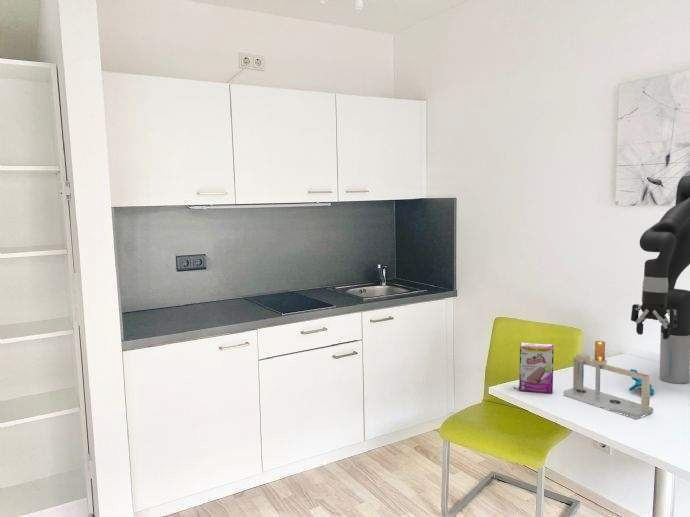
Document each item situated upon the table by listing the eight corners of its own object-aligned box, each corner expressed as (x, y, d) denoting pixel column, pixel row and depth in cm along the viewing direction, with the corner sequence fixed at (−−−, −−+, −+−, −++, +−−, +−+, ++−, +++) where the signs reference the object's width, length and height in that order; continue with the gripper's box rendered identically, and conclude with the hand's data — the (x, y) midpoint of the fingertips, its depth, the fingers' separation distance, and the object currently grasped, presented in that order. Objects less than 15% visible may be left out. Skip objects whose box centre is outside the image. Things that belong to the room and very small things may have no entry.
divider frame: (579, 389, 183) (580, 351, 181) (652, 412, 162) (654, 369, 160) (563, 395, 178) (564, 355, 177) (636, 419, 157) (637, 374, 156)
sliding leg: (597, 392, 175) (598, 340, 173) (606, 394, 172) (607, 342, 170) (591, 394, 173) (592, 341, 171) (600, 396, 171) (601, 343, 169)
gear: (651, 395, 172) (628, 369, 177) (636, 404, 175) (614, 379, 179) (660, 390, 179) (638, 366, 184) (645, 399, 182) (625, 375, 187)
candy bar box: (519, 391, 183) (519, 345, 181) (519, 386, 188) (519, 342, 186) (553, 394, 179) (553, 347, 178) (552, 389, 184) (553, 343, 182)
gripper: (683, 291, 174) (680, 339, 176) (640, 286, 187) (637, 331, 188) (671, 293, 171) (668, 342, 172) (628, 288, 183) (626, 333, 184)
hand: (652, 336), depth 180 cm, fingers open, 8 cm apart
